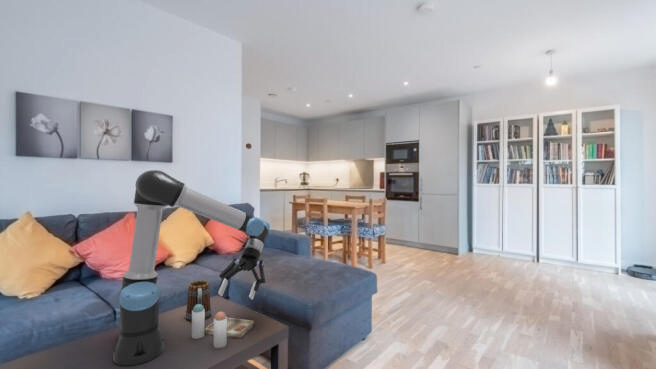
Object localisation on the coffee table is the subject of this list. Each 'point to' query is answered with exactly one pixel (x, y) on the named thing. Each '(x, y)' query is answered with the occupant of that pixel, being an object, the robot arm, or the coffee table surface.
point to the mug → (198, 298)
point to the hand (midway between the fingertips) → (235, 296)
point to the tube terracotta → (220, 330)
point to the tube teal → (198, 321)
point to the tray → (233, 327)
